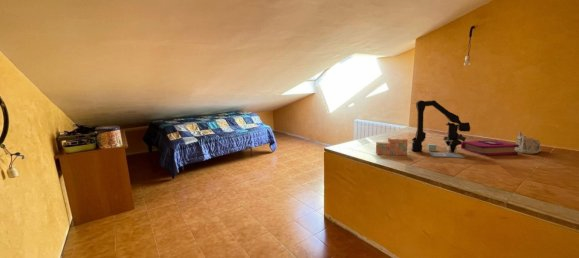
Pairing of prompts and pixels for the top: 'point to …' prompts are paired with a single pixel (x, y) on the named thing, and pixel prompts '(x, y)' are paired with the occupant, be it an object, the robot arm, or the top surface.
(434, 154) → the blueprint board
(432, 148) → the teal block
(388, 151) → the stack of blocks
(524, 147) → the ceramic cottage
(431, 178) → the top surface
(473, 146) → the book
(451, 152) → the maple block
